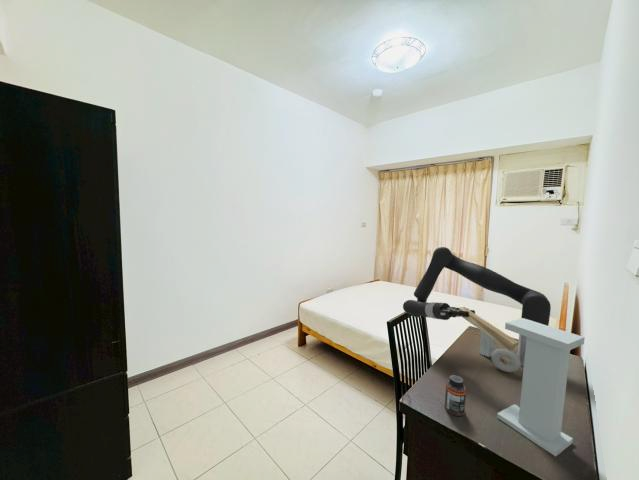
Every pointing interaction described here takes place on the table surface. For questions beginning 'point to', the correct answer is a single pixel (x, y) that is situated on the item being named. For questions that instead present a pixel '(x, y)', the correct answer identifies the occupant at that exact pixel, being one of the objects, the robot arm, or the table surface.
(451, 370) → the table surface
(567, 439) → the stand
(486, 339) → the skincare box
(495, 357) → the donut
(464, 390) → the supplement bottle
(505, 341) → the beige block
